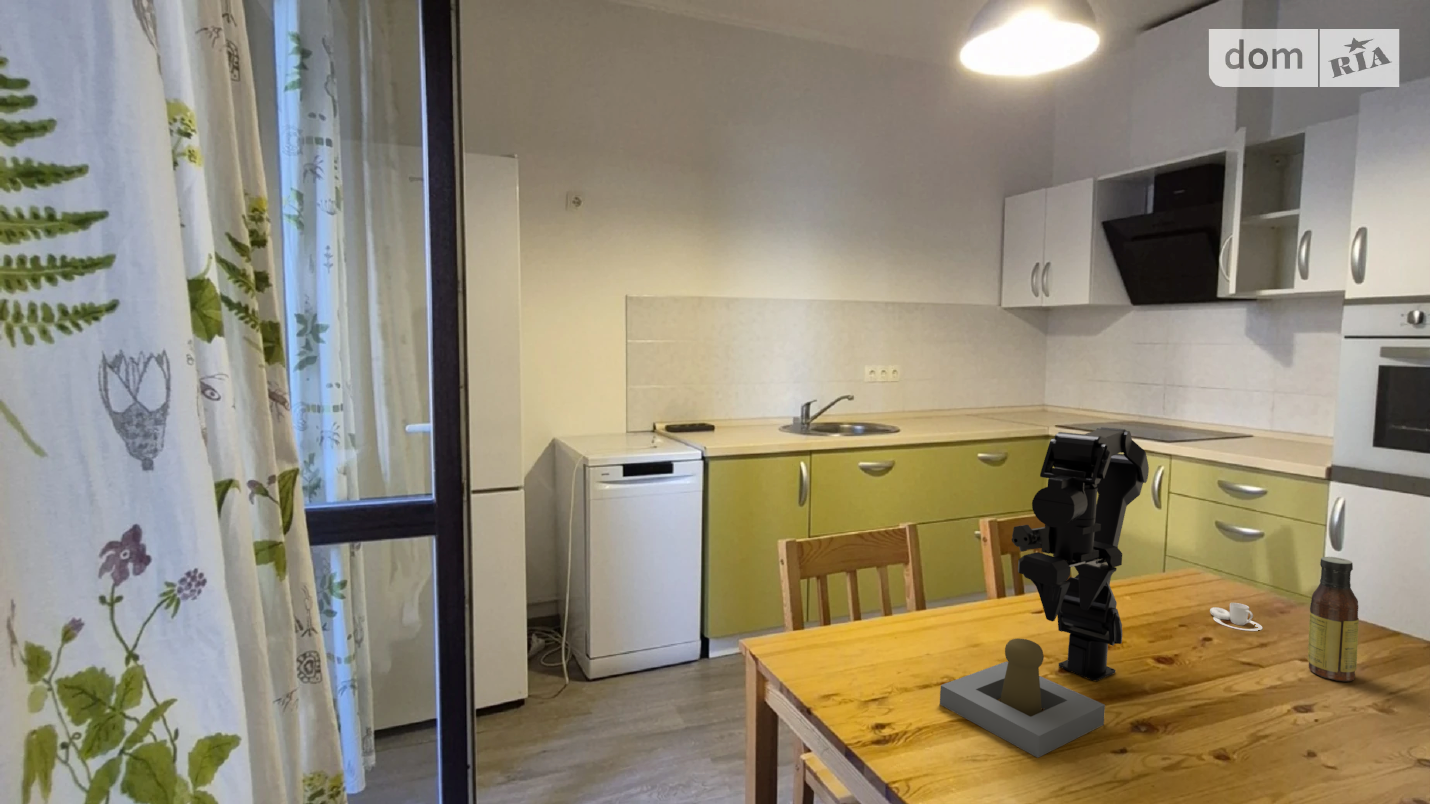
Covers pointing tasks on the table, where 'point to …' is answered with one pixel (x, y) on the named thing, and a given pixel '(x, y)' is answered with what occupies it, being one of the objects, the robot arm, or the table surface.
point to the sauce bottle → (1334, 623)
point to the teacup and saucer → (1235, 616)
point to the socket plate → (1033, 734)
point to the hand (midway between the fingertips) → (1067, 614)
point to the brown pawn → (1023, 676)
